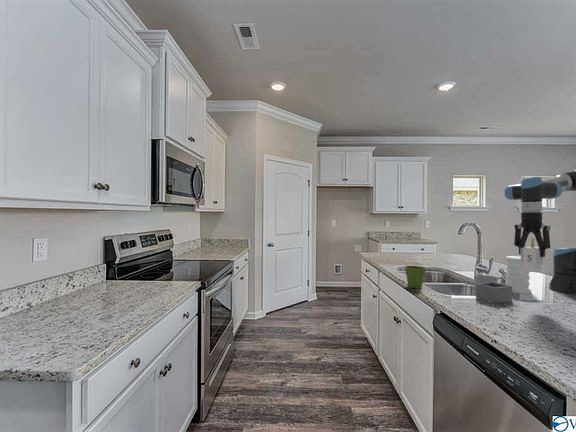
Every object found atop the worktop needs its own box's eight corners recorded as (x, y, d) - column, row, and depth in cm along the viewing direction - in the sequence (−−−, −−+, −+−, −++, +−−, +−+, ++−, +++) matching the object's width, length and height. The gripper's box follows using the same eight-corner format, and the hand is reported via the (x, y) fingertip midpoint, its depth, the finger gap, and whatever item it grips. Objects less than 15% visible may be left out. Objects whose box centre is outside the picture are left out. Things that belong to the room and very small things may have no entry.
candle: (521, 270, 144) (521, 237, 144) (525, 268, 149) (525, 236, 148) (538, 272, 140) (538, 238, 139) (542, 270, 144) (542, 237, 144)
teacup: (476, 292, 169) (476, 277, 169) (472, 287, 179) (472, 273, 179) (507, 294, 164) (507, 278, 164) (501, 289, 175) (501, 275, 175)
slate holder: (491, 296, 161) (491, 281, 161) (511, 301, 151) (512, 286, 151) (476, 298, 157) (476, 283, 156) (496, 304, 147) (496, 288, 147)
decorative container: (499, 289, 175) (499, 256, 174) (513, 287, 179) (513, 255, 179) (522, 294, 164) (522, 259, 164) (536, 292, 168) (536, 258, 168)
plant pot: (420, 290, 172) (420, 270, 172) (400, 287, 181) (400, 267, 181) (430, 287, 180) (430, 267, 180) (410, 283, 189) (410, 264, 189)
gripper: (504, 212, 151) (504, 260, 152) (550, 211, 133) (550, 267, 134) (514, 211, 154) (514, 259, 154) (561, 211, 136) (561, 265, 137)
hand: (531, 263), depth 144 cm, fingers closed on candle, 6 cm apart
